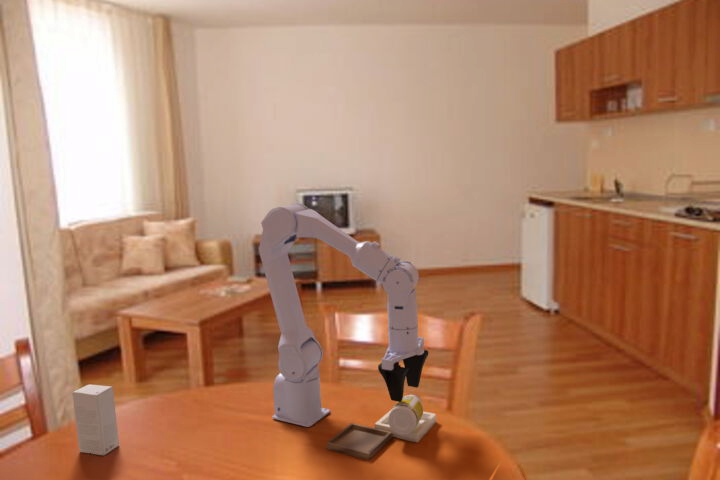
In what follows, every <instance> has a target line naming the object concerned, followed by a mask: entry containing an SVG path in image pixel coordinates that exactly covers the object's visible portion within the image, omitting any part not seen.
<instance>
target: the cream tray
mask: <svg viewBox="0 0 720 480" xmlns="http://www.w3.org/2000/svg"><path fill="white" fill-rule="evenodd" d="M392 409H393V408H391V409H390V410H389V411H388V412H386V413H385V414H384V415H383V416H382V417H381V418H380V419H378V420H377V421H376V422H375V423H374V428H376V429H381V430H385V431H389V432H392V438H397V439H400V440H405V441H410V442H414V443H418V442H420V440H422V439H423V437H424V436H425V435H426V434H427V433H428V432H429V431H430V430H431V429H432V428H433V426H434V425H435V424H436V423H437V414H436V413H434V412H429V411H424V410H423V415H422V417H421V419H420V421H419V423H418V424H417V426H416V428H415V429H414V430H413V432H411V433H410V434H408V435H399V434H397V433H395V432H394V431H393V430H392V429H391V428H390V426H389V423H388V416H389V413H390V411H391V410H392Z"/></svg>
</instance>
